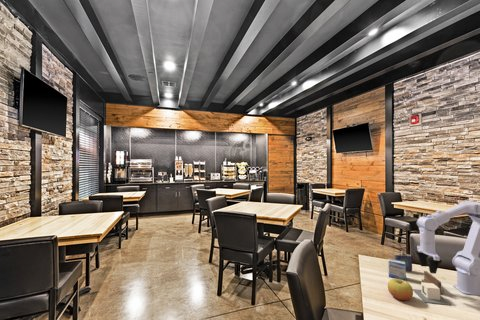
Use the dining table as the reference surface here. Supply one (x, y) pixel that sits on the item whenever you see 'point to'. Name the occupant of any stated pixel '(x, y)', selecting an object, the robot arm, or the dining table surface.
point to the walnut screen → (432, 280)
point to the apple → (400, 289)
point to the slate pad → (434, 301)
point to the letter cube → (430, 291)
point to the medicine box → (397, 269)
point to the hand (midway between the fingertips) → (428, 269)
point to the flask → (404, 260)
